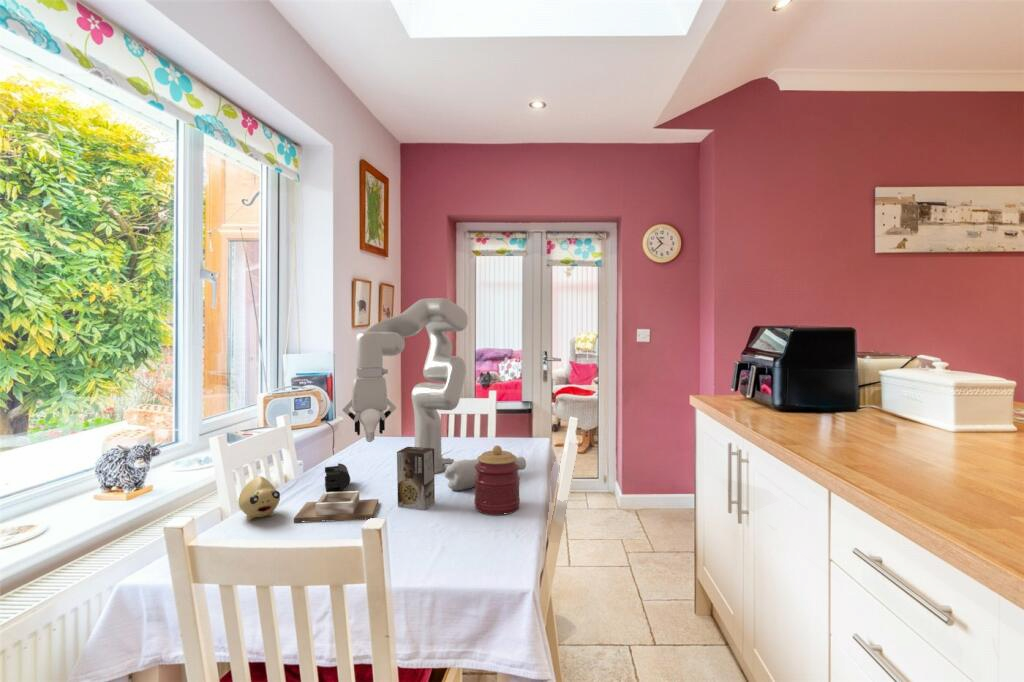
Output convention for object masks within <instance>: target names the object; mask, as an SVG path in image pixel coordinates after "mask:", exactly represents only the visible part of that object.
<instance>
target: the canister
mask: <svg viewBox="0 0 1024 682" xmlns="http://www.w3.org/2000/svg"><path fill="white" fill-rule="evenodd" d="M517 458H518V457H517V456H516V455H514V454H513V453H512V452H510V451H508V450H503V449H502V447H501V446H500V445H495V446H493V448H492V450H488V451H485V452H483V453H482V454H480V455H479V456H477V458H476V459H477V460H478V461H479V462H478V463H477V464H476V465H475V466H474V468H475V470H476V476H475V478H474V480H475V486H474V502H473V503H474V505H475V507H476V508H475V507H474V508H475V509H477V510H476V511H478V510H479V511H481V512H483V513H482V514H485V513H487V514H486V515H490V514H503V515H505V514H504V513H509V514H511V512H512V513H514V512H516V511H517V510H519V508H520V503H521V497H520V480H521V477H520V475H519V471H520V470H519V468H520V465H519V464H518V463H516V460H517ZM479 511H478V512H479ZM481 512H480V513H481Z"/></svg>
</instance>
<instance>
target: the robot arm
mask: <svg viewBox="0 0 1024 682" xmlns="http://www.w3.org/2000/svg"><path fill="white" fill-rule="evenodd" d="M468 323H469V318H468V315H467V312H466V311H465V310H464V309H463V308H462V307H461V306H459V305H458V304H456V303H455V302H454V301H451V300H450V299H449V298H445V297H435V298H434V297H431V298H430V297H428V298H427V297H426V298H421V299H419V300H417V301H416V302H414V303H413V304H412V305H411V306H409V307H408V308H406V309H405V310H404V311H403V312H402V313H400V314H397V315H394V316H392V317H389V318H386V319H384V320H382V321H379V322H377V323H375V324H373V325H372V326H370V327H369V328H368V329H366V330H365V331H364V332H358V333H357V335H356V377H354V378H353V382H352V388H351V389H352V390H351V400H350V401H349V402H348V403H347V404H346V405H345V406H344V407H343V408H342V412H343V413H345V414H346V415H347V416H348V417H349V418H350V419H352V421H354V432H355V433H356V435H357V436H360V435H361V422H360V419H359V417H360V414H361V412H363V411H365V410H367V409H375V410H377V411H379V412H380V416H381V419H380V421H379V423H378V424H379V426H378V427H379V430H378V432H379V434H380V435H382V434H383V431H385V430H386V426H385V425H386V424H385V422H386V419H387V418H388V417H389V416H390V415H391V414H392V413H393V412H394V411H395V410H396V408H397V406H396V405H395V404H394V403H393V402H391V400H390V399H389V398H388V389H387V383H386V382H387V381H386V378H385V377H384V375H385V374H386V375H387V374H388V373H389V372H388V369H387V368H384V366H383V365H384V364H383V360H384V359H383V357H389V356H390V357H392V356H397V355H399V354H401V353H402V352H403V351H404V349H405V346H406V342H405V338H411V337H412V336H415V335H417V334H418V333H419V332H421V330H423V329H424V328H425V329H426V331H427V334H428V337H429V347H428V351H427V354H426V358H425V361H424V365H423V371H422V374H423V378H425V379H426V380H427V382H425V381H424V382H420V383H418V384H415V385H414V386H413V388H412V391H411V402H412V407H413V408H412V409H413V415H414V447H421V448H434V474H438V473H441V472H445V470H446V468H447V465H448V466H449V465H451V464H452V463H453V462H455V460H454V458H451V457H450V458H449V457H447V458H444V457H443V454H442V420H441V416H440V414H439V412H438V411H453V410H454V409H456V408H457V407H458V405H459V402H460V399H461V394H462V392H463V391H462V390H463V386H464V383H465V379H466V373H467V366H466V362H465V360H464V359H463V358H462V357H460V356H456V355H452V352H453V344H452V341H451V339H450V338H449V337H448V335H447V334H446V332H452V333H453V332H463V331H464V330H465V329H466V328H467V326H468V325H469V324H468ZM428 381H432V382H428ZM388 406H389V408H388ZM350 408H352V411H350ZM385 410H386V411H385ZM384 411H385V412H384ZM353 412H355V413H353Z"/></svg>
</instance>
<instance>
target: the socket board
mask: <svg viewBox="0 0 1024 682" xmlns="http://www.w3.org/2000/svg"><path fill="white" fill-rule="evenodd" d="M379 504H380V503H379V498H373V499H370V498H369V499H360V490H355V491H354V490H353V491H352V490H351V491H350V490H349V491H342V492H326V491H325V492H324V493H323V494H322V495H321V496H320V498H319V499H318V500H317V501H307V502H306V503H304V505H303V506H301V507H302V508H300V510H299V511H298V512H297V513H296V515H295V516H294V517H293V523H294V522H297V523H303V522H302V521H317V522H323V521H322V520H325V521H324V522H327V521H326V520H337V521H352V520H353V521H354V520H355V521H356V520H370V519H369V518H372V517H373V518H374V516H375V513H376V510H377V508H378V506H379ZM365 518H366V519H365ZM373 518H372V519H373Z"/></svg>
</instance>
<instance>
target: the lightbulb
mask: <svg viewBox="0 0 1024 682" xmlns="http://www.w3.org/2000/svg"><path fill="white" fill-rule="evenodd" d="M380 419H381V416H380V412H379V411H377V410H375V409H367V410H365V411H363V412H361V414H360V417H359V421H360V424H361V425H362V427H363V430H364V434H365V436H364V437H365V439H364V440H365V441H367V442H369V443H371V442H373V441H374V440H375V434H376V429H377V426H378V424H379V421H380Z"/></svg>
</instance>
